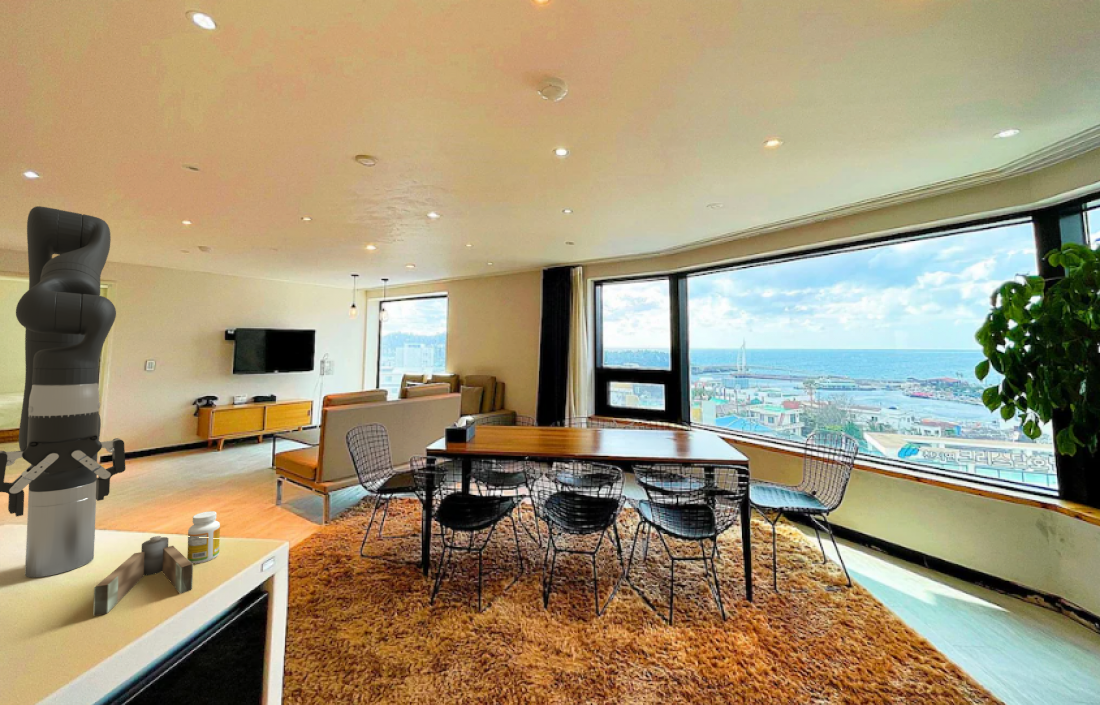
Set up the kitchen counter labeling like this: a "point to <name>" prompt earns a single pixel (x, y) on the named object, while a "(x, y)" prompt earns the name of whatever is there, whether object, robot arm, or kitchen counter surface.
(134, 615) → the kitchen counter surface
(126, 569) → the tong arm
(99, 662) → the kitchen counter surface
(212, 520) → the supplement bottle
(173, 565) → the tongs frame
